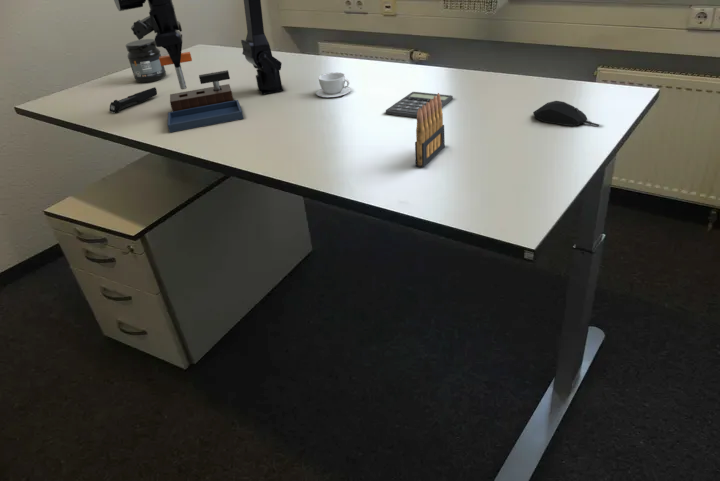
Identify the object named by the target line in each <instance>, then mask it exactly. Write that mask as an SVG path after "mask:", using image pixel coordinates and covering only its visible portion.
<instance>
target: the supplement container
mask: <svg viewBox="0 0 720 481" xmlns="http://www.w3.org/2000/svg"><path fill="white" fill-rule="evenodd" d="M125 49H126V51H127V52H128V53H127V56H126V58H127V59H128V63H129V65H130V68H131V71H132V74H133V78H134V80H135V81H136V82H138V83H141V84H142V83H143V84H144V83H147V84H148V83H153V82H157V81H160V80H162V79H164V78H165V77H166V76H167V71H166V68H165V65H164V66H161V64H160V60H159V57H160V56H162V55H161V50H160V49H159V47H157V46H156V43H155V38H142V39H140V40H139V39H137V40H133V41H130V42H127V43H126V44H125Z"/></svg>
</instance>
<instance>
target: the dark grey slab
mask: <svg viewBox="0 0 720 481" xmlns="http://www.w3.org/2000/svg"><path fill="white" fill-rule="evenodd" d="M198 78H199V82H200V85H204V84H209V83H212V87H214V90H215V91H219V90H220V86H221V85H220V82H223V81H226V80H230V79H231V77H230V73H229V70H228V69H227V70H220V71H215V72H209V73H204V74H203V73H202V74H198Z"/></svg>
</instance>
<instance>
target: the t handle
mask: <svg viewBox="0 0 720 481" xmlns="http://www.w3.org/2000/svg"><path fill="white" fill-rule="evenodd" d="M159 60H160V64H161V66H164V67H165V66H170V65H174V63H173V62H172V60H171V58H170V56H169V54H167V55H161V56H160V57H159ZM189 62H193V58H192V54H191V51H186V52H181V60H180V67H178V68H176V67H175V65H174V69H175V70H174V71H175V73H176V77H177V81H178V84H179V88H180V90H186V89H187V83H186V79H185V77H184V76H185V75H184V72H183V68H182V65H181V64H182V63H189Z"/></svg>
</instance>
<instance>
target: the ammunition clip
mask: <svg viewBox="0 0 720 481" xmlns="http://www.w3.org/2000/svg"><path fill="white" fill-rule="evenodd" d="M436 94H437V97H436V96H434V98H433V100H432V99H430V102H429V103H428V102H427V103H426V106H425V105H423V106H422V110H421V109H420V108H419V109H418V113H417V117H416V130H415V134H416V135H415V136H416V137H415V138H416V141H415V142H414V146H415V147H414V155H415V156H414V157H415V158H414V159H415V161H414V162H415V167H418V168H425V167H426V166H427V165H428V164H430V162H431V161H433V159H434V158H435V157H436V156H438V154H440V153H441V152H442V150H444V149H445V147H446V142H445V141H446V140H445V138H446V137H445V124H444V116H443V115H444V113H443V107H442V105H441V97H440V94H441V93H439V92H437V93H436Z"/></svg>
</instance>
